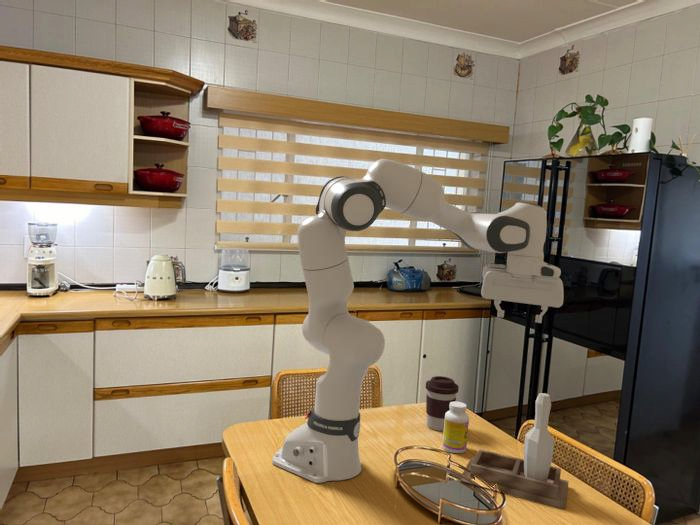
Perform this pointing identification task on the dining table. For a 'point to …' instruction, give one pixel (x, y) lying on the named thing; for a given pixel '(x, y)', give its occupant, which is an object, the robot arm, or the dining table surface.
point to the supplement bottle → (456, 428)
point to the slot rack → (518, 478)
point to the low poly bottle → (539, 442)
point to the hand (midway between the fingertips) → (519, 319)
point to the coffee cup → (439, 400)
